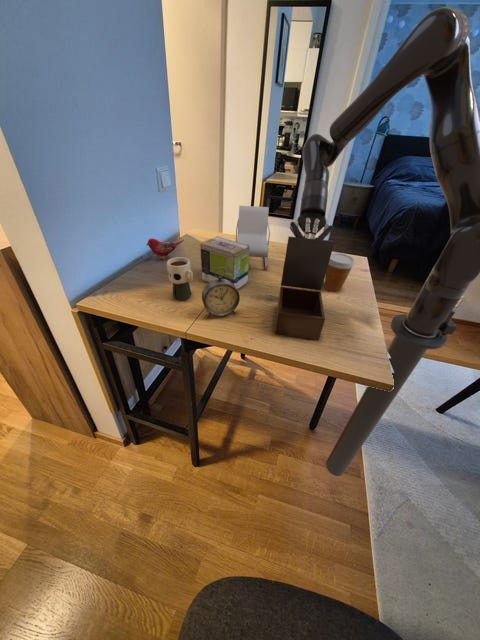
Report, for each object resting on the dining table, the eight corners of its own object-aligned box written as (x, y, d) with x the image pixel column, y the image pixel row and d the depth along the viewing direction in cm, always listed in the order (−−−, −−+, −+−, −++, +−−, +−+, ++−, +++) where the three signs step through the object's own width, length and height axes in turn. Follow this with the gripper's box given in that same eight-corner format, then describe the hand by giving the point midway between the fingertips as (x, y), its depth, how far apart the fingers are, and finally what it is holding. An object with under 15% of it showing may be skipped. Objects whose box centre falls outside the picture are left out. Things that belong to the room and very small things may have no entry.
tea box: (248, 282, 99) (251, 244, 90) (233, 293, 93) (234, 253, 84) (217, 270, 106) (217, 234, 97) (201, 280, 99) (199, 242, 90)
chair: (264, 248, 126) (269, 205, 114) (266, 272, 107) (272, 223, 95) (237, 246, 126) (238, 204, 114) (234, 270, 107) (235, 221, 95)
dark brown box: (318, 340, 74) (325, 319, 70) (274, 334, 76) (278, 312, 71) (315, 311, 86) (320, 291, 81) (277, 306, 87) (280, 286, 82)
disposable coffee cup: (323, 279, 104) (331, 250, 97) (348, 286, 100) (358, 257, 93) (316, 289, 97) (324, 259, 90) (342, 297, 94) (352, 266, 86)
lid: (334, 241, 71) (334, 240, 72) (288, 237, 72) (288, 236, 73) (321, 290, 80) (321, 289, 81) (280, 285, 82) (280, 284, 82)
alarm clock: (204, 321, 79) (202, 273, 69) (201, 311, 83) (199, 264, 73) (239, 316, 82) (241, 269, 72) (234, 307, 86) (236, 261, 76)
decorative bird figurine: (147, 262, 109) (143, 238, 103) (183, 252, 119) (181, 230, 113) (151, 264, 107) (146, 241, 101) (187, 254, 117) (185, 232, 111)
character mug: (163, 295, 89) (157, 260, 81) (177, 287, 94) (173, 253, 86) (187, 306, 85) (183, 270, 77) (201, 297, 90) (199, 262, 82)
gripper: (293, 191, 75) (285, 247, 73) (340, 195, 74) (333, 252, 72) (290, 206, 83) (283, 257, 80) (333, 209, 81) (327, 262, 79)
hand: (307, 255), depth 76 cm, fingers closed
